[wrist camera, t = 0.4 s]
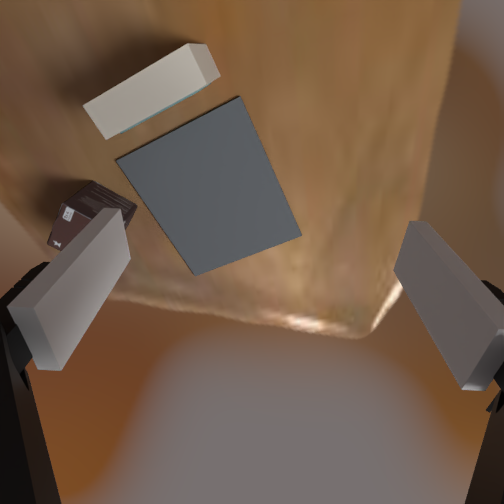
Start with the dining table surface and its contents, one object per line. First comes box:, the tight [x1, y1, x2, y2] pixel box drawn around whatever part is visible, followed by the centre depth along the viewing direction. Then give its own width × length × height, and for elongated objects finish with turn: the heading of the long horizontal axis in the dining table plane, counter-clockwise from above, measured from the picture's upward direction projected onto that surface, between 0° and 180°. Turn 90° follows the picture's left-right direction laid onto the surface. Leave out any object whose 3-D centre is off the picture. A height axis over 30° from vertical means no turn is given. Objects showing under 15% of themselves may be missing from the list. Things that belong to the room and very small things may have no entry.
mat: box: [116, 96, 302, 276], centre depth 40 cm, size 18×16×1 cm
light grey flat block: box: [83, 43, 220, 140], centre depth 30 cm, size 3×10×9 cm, turn 115°
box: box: [47, 181, 137, 251], centre depth 38 cm, size 6×6×7 cm
